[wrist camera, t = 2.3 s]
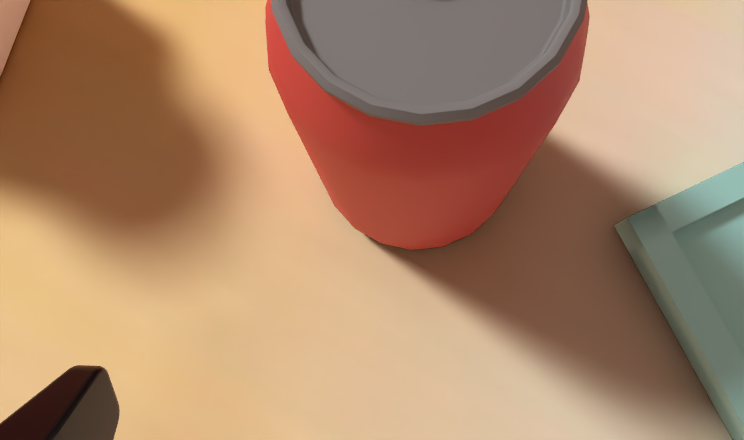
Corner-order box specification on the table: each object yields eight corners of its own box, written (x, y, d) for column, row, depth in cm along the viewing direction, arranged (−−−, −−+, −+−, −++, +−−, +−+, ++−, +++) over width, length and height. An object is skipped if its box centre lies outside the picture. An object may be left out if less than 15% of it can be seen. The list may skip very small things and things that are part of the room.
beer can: (536, 106, 23) (673, -140, 11) (473, 281, 22) (551, 208, 10) (363, 46, 24) (322, -242, 12) (293, 212, 23) (175, 73, 11)
